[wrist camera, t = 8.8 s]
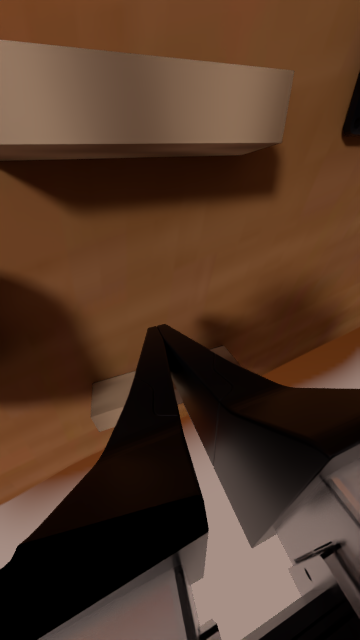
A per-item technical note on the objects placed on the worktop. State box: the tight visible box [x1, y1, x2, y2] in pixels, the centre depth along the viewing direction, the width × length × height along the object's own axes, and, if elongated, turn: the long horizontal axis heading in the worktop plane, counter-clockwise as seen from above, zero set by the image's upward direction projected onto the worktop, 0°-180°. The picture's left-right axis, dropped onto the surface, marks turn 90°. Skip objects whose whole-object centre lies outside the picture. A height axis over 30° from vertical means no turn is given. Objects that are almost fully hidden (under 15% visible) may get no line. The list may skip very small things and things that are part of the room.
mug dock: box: [0, 40, 294, 432], centre depth 12 cm, size 12×18×3 cm, turn 5°
